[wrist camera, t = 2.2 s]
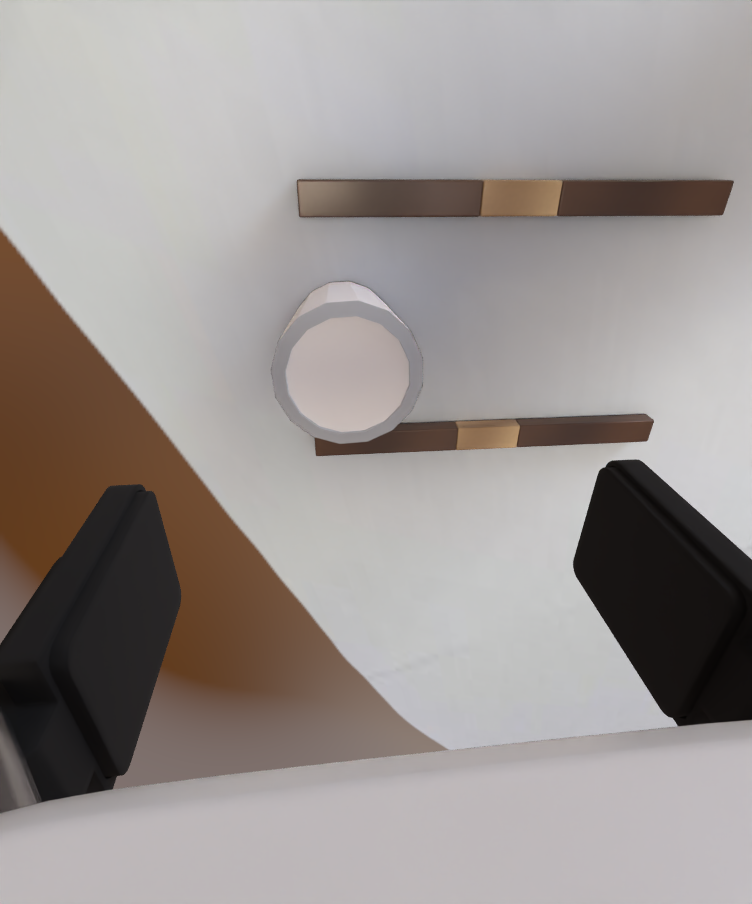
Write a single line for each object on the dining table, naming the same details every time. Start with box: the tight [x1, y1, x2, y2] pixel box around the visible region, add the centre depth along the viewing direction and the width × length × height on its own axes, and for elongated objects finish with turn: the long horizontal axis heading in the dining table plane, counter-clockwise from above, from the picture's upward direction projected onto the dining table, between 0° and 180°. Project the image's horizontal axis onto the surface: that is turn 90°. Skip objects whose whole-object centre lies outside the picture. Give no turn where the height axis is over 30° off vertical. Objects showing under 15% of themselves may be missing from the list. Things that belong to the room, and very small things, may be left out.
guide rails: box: [297, 179, 734, 456], centre depth 28 cm, size 22×15×1 cm
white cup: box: [271, 281, 423, 444], centre depth 25 cm, size 7×7×7 cm
